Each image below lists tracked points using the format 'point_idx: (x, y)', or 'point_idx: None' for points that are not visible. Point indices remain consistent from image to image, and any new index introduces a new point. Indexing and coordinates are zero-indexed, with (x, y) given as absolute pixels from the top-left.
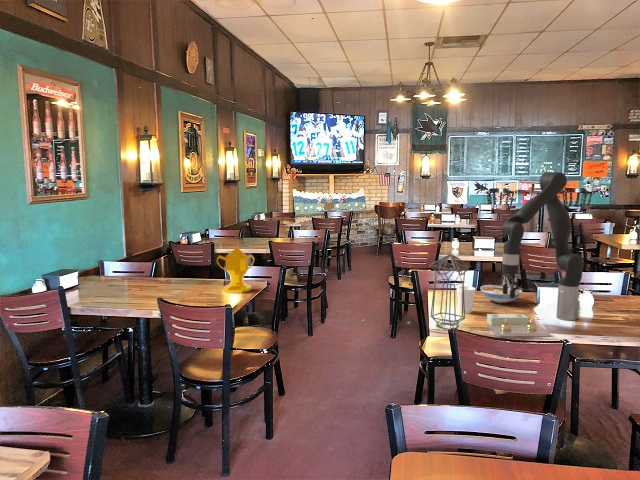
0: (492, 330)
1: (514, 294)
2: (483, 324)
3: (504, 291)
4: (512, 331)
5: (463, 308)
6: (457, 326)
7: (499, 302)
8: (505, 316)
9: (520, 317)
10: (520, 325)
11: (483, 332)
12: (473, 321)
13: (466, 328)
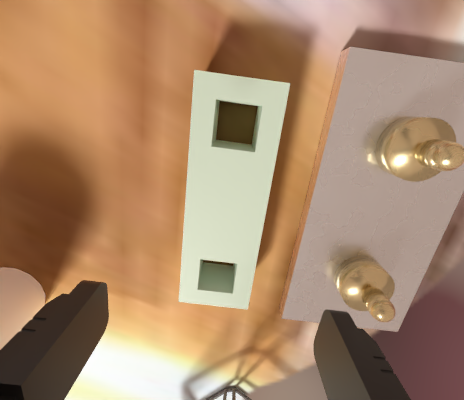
0: None
1: (392, 375)
2: None
3: (89, 343)
4: (399, 264)
5: None
6: (243, 396)
7: None
8: (236, 229)
9: (275, 145)
10: (325, 172)
11: None
12: (173, 318)
13: (262, 373)
